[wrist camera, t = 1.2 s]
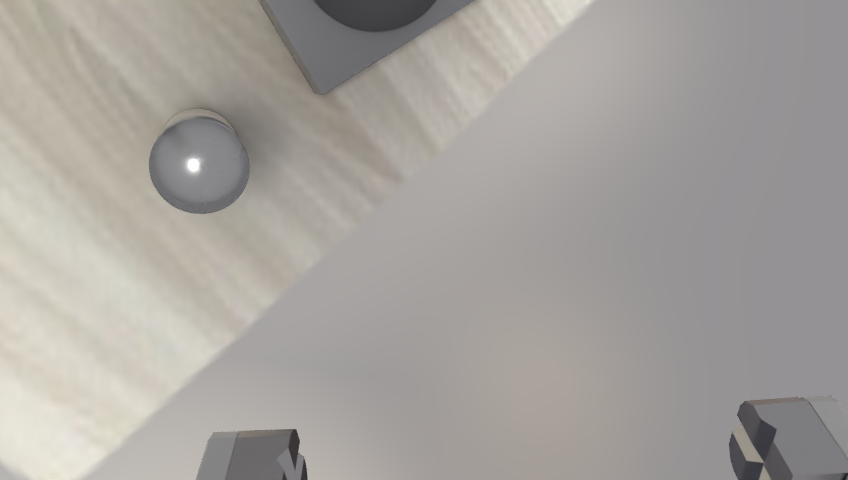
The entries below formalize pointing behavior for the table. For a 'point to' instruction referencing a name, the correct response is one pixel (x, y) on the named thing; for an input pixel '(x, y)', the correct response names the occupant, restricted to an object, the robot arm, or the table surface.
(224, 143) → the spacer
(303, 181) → the table surface
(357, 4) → the scale
